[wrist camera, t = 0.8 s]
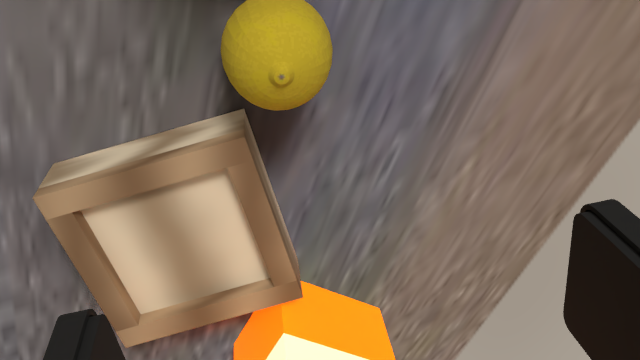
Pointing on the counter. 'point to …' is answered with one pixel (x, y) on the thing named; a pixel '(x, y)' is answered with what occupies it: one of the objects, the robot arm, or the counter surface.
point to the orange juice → (315, 330)
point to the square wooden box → (174, 228)
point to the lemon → (276, 52)
